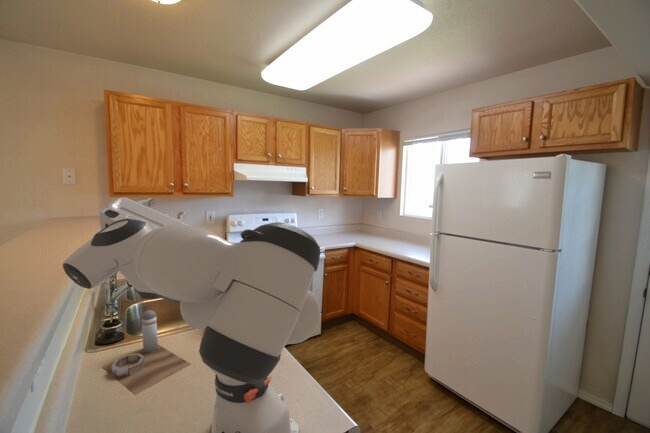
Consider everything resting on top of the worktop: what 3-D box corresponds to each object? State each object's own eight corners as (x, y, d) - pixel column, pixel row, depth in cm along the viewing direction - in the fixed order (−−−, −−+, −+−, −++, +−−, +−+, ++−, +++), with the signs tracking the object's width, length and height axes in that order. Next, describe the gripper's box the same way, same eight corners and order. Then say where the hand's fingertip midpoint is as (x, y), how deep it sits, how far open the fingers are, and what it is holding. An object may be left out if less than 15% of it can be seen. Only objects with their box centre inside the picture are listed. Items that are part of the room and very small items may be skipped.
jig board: (191, 366, 97) (191, 364, 97) (135, 398, 83) (135, 394, 83) (155, 345, 109) (155, 342, 109) (101, 369, 95) (101, 366, 95)
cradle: (148, 366, 95) (148, 359, 95) (120, 380, 88) (119, 372, 88) (136, 357, 100) (135, 350, 99) (108, 370, 93) (107, 363, 93)
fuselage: (160, 348, 106) (158, 310, 104) (147, 354, 102) (145, 314, 100) (154, 343, 108) (152, 306, 106) (140, 349, 104) (138, 311, 103)
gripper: (173, 242, 72) (203, 214, 84) (93, 207, 71) (135, 184, 83) (170, 259, 75) (200, 230, 87) (95, 227, 74) (135, 201, 86)
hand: (168, 207), depth 85 cm, fingers open, 8 cm apart
